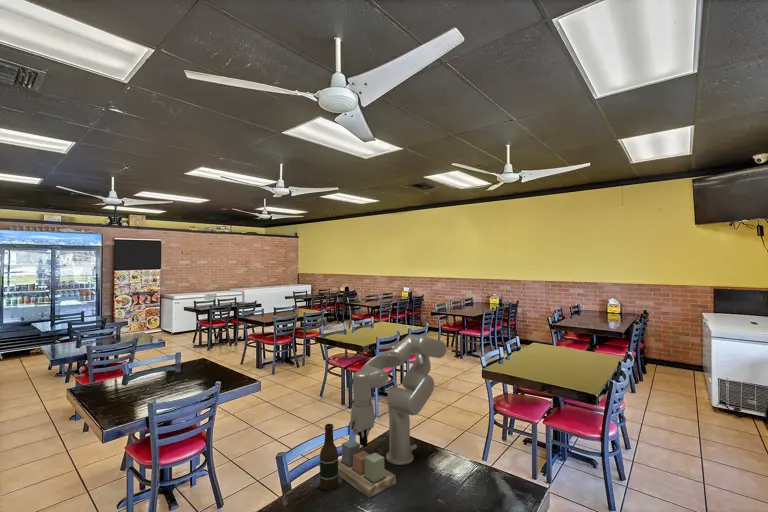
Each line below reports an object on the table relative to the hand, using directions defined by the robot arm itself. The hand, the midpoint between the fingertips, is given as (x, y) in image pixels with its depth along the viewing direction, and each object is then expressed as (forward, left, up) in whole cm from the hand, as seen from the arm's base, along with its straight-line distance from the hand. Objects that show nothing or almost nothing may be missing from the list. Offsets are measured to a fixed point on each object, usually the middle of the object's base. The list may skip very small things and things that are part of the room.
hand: (363, 445), depth 153 cm
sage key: (+1, +8, -10) cm, 13 cm away
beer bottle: (+15, -4, -13) cm, 20 cm away
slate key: (+1, -8, -10) cm, 13 cm away
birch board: (+1, 0, -13) cm, 13 cm away
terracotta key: (+1, 0, -12) cm, 12 cm away
